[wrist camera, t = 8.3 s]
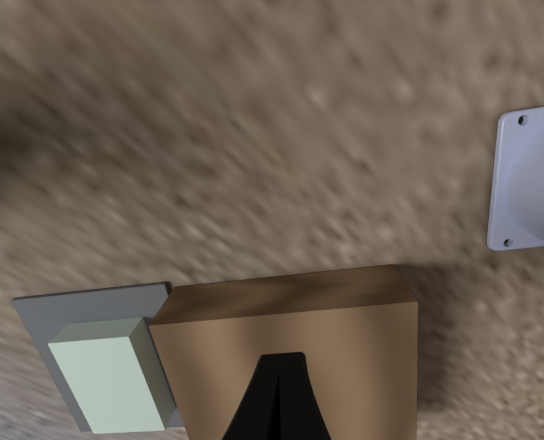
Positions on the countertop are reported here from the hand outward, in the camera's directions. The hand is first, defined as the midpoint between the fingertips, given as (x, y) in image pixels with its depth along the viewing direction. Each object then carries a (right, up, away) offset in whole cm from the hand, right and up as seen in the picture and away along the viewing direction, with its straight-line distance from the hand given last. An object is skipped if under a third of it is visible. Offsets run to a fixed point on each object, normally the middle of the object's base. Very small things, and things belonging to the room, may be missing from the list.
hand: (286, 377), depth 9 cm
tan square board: (+1, -5, +13) cm, 14 cm away
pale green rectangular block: (-12, -7, +12) cm, 19 cm away
